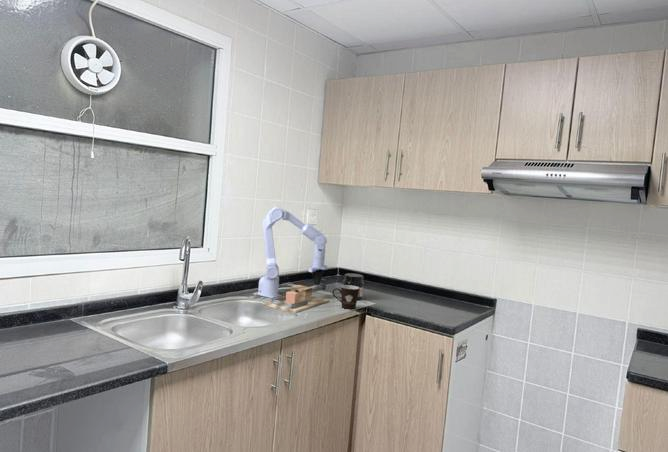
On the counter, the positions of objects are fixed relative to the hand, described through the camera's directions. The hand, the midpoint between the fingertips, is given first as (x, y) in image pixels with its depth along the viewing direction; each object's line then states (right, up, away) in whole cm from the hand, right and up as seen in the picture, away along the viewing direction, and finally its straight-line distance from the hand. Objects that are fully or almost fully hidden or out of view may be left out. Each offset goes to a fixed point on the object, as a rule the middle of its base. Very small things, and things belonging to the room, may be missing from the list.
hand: (316, 284), depth 233 cm
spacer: (-10, -4, -17) cm, 20 cm away
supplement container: (+18, -8, +7) cm, 21 cm away
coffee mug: (+14, -9, -14) cm, 22 cm away
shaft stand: (-8, -7, -13) cm, 17 cm away
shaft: (-3, -3, -4) cm, 6 cm away
